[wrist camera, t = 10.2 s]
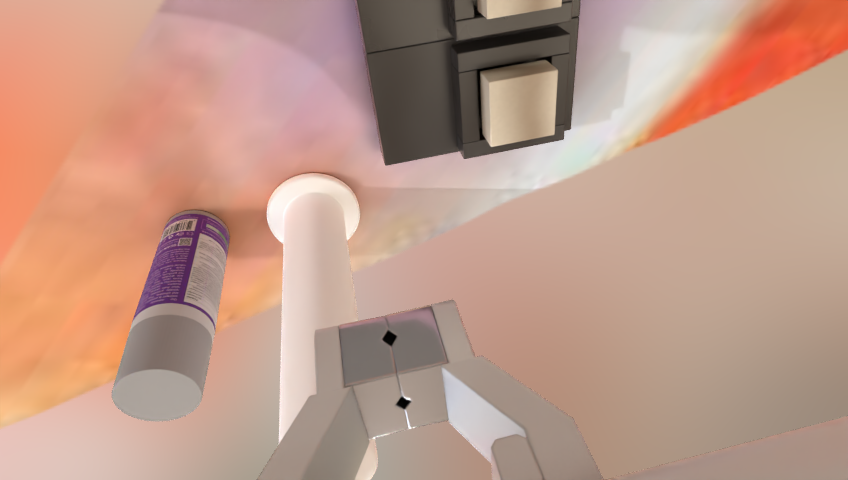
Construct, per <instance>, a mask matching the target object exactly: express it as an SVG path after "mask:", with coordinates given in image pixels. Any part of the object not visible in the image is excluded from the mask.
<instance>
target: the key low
mask: <svg viewBox="0 0 848 480" xmlns="http://www.w3.org/2000/svg"><path fill="white" fill-rule="evenodd" d="M557 80H558V69H556V68H555V67H554V66H553V65H551V64H550V63H549V62H548V61H547V60H540V61H534V62H529V63H523V64H518V65H512V66H507V67H501V68H496V69H490V70H485V71H480V92H481V118H482V134H483V136H484V137H485V139H486V140H487V142H488V143H489V145H490V146H491V147H494V146H499V145H504V144H509V143H515V142H520V141H525V140H530V139H535V138H540V137H545V136H550V135H554V133H555V115H556V97H557Z"/></svg>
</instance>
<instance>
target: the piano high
mask: <svg viewBox="0 0 848 480" xmlns="http://www.w3.org/2000/svg"><path fill="white" fill-rule="evenodd" d="M355 5H356V11H357V17H358V23H359V28H360V34H361V40H362V44H363V47H364V49H365V52H366V53H372V52H377V51H383V50H389V49H395V48H400V47H406V46H412V45H418V44H423V43H429V42H435V41H441V40H446V39H452V38H454V39H455V40H456V41H462V40H468V39H474V38H479V37H485V36H491V35H497V34H502V33H508V32H514V31H520V30H525V29H531V28H537V27H542V26H548V25H554V24H560V23H565V22H570V21H571V20H572V18H573V17H578V16H579V12H580V0H562V6H561V7H556V8H551V9H545V10H539V11H533V12H527V13H521V14H516V15H510V16H504V17H498V18H492V19H487V18H486V17H484V16H483V15H482V14H481V13H480V12H479V11H478V10H477V0H355Z"/></svg>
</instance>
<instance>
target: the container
mask: <svg viewBox="0 0 848 480" xmlns="http://www.w3.org/2000/svg"><path fill="white" fill-rule="evenodd" d="M229 239H230V235H229V231H228V228H227V227H226V225H225V224H224V223H223V222H222V220H220V219H219V218H218V217H216V216H215V215H213V214H210V213H208V212H204V211H199V210H189V211H184V212H180V213H178V214H176V215H174V216H173V217H171V218H170V219H169V221H168V222H167V223H166V226H165V228H164V231H163V234H162V237H161V240H160V243H159V245H158V248H157V251H156V254H155V257H154V260H153V263H152V266H151V269H150V272H149V275H148V278H147V281H146V284H145V287H144V289H143V292H142V295H141V298H140V301H139V304H138V307H137V310H136V313H135V316H134V319H133V322H132V325H131V329H130V332H129V336H128V339H127V342H126V346H125V349H124V352H123V356H122V359H121V363H120V366H119V369H118V373H117V376H116V379H115V383H114V386H113V390H112V399H113V402H114V404H115V405H116V406H117V407H118V409H120V410H121V411H122V412H124V413H125V414H127V415H129V416H131V417H134V418H137V419H141V420H146V421H169V420H174V419H178V418H181V417H183V416H186V415H188V414H189V413H191V412H192V411H194V410H195V409H196V408H197V407H198V406H199V404H200V402H201V400H202V395H203V390H204V384H205V380H206V375H207V370H208V365H209V360H210V355H211V349H212V345H213V339H214V335H215V329H216V323H217V316H218V310H219V304H220V297H221V291H222V285H223V279H224V272H225V266H226V260H227V253H228V247H229Z"/></svg>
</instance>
